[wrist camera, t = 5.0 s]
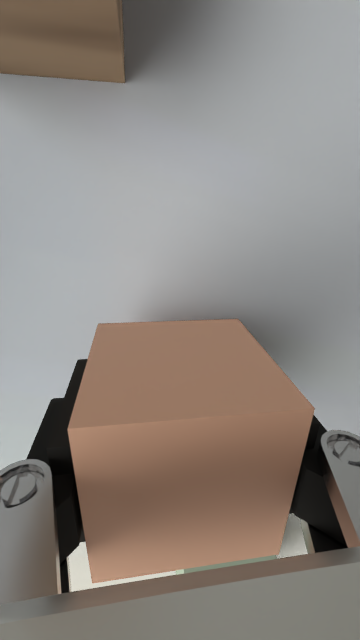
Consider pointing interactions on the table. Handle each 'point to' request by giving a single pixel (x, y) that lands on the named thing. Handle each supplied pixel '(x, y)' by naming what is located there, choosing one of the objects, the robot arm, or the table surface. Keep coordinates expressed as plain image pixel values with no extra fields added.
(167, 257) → the table surface
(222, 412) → the terracotta block
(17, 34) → the walnut block
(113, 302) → the table surface
